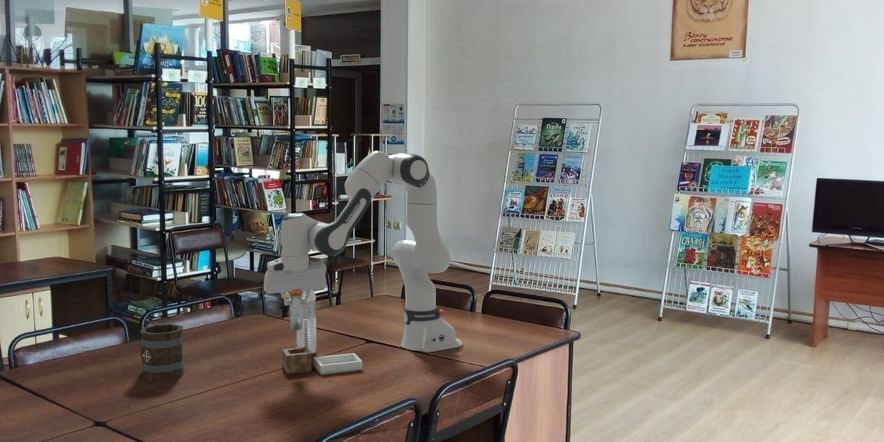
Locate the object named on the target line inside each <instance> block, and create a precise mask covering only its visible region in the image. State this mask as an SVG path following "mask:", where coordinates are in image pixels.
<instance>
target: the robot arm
mask: <svg viewBox="0 0 884 442" xmlns="http://www.w3.org/2000/svg"><path fill="white" fill-rule="evenodd" d="M385 182H387V183H390V184H395V185H400V186H401V185H403V186H404V187H405V189H406V213H405V215H406V222H405V223H406V226H407V227H408V228H409V230H410V231H411V232H412V235H413V237H414V239H411V238H409V239H402V240H399V241H396V242H395V244H394V245H393V247H392V251H391V257H392V260H393V261H394V263H395V264H396V265H397V267H398V269H399V271H400V273H401V276H402V280H403V283H404V285H403V286H404V288H405V289H404V291H405V292H404V294H405V307H404V312H403V320H404V321H403V322H404V331H403V335H402V341H401V344H400V347H401V348H403V349H405V350H409V351H417V352H418V351H419V352H424V353H433V352H437V351H438V352H439V351H444V350H449V349H456V348H461V347H462V346H463V342H462V340H460V339H459V338H457V334H456V330H455V329H454V326H453V325H451V324H450V323H448V322H447V321H446V320H445V319H443V318H442V317H441V316H445V315H446V314H445V313H446V311H445V310H443V309H440V308H438V307H437V305H436V301H437V300H436V298H437V297H436V296H437V293H436V291H437V289H436V286H435V284H434V283H433V281H432V280H431V279H430V277H429V274H438V273H439V274H441V273H445V271H446V270H447V269H448V268H449V266H450V263H451V258H452V256H451V253H450V251H449V249H448V248H447V247H446V246H445V244H444V242H443V241H442V240H443V239H442V238H441V235H440V231H439V227H438V195H437V194H438V193H437V191H438V190H437V185H436V183H437V182H436V180H435V178H434V176H433V175H431V172H430V168H429V165H428V163H427V160H426V159H425V158H424V157H422V156H421V155H418V154H416V153H415V154H414V153H406V152H401V153H390V154H387V153H386V152H383V151H380V150H375V151H372V152H370V153H369V154H368V155H367V156H366V157H364V158H363V159H362V160H361V161H360V162H359V163H358V164H357V165H356V167H354V169H353V170H352V171H351V172H350V173H349V175H348V176H347V178H346V180H345V182H344V191H345V193H346V196H347V197H348V202H347V204H346V205H345V207H344V208H343V210H342V211H341V212H340V214H339V215H338V216H337V218H336V219H335V221H332V222H330V223H326V222H323V221H319V220H316V219H314V218H312V217H309V216H308V215H307V214H306V213H303V212H295V213H290V214H287V215H286V216H284V217H283V218H282V221H281V223H280V224H281V225H280V244H281V252H280V257H278V258H276V259H274V260H271V261H269V262H267V263H266V268H267V270H266V271H265V273H264V276H263V277H264V278H263V279H264V280H263V291H264V292H265V293H266V294H270V295H271V294H280V296H281V297H282V299H283V300H284V306H286V307H287V306H290V298H289V299H287V298H286V296H287V293H288V292H291V291H292V290H298V289H302V291H305V293H306V295H305V297H304V298H302V304H307V299H308V297H309V295H310V290H312V291H317V290H325V289H326V288H327V277H326V274H327V265H326V263H324V262H322V261H310V260H309V256H310V255H309V251H315V252H319V253H321V254H323V255H325V256H327V257H335V256H337V255H340V254H341V253H342V252H343V251H344V250H345V249H346V247H347V244H348V242H349V239H350V236H351V233H352V232H353V230H354V229H355V227H356V226H357V225H358V223H359V222H360V220H361V219H362V217H363V216H364V214H365V213H366V211H367V210H368V208H369V207H370V204H371V203H372V200H373V199H374V197H375V195H376V194H377V193H378V192H379V191H380V190H381V188H382V186H383V185H384V184H385Z"/></svg>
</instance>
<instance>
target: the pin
mask: <svg viewBox="0 0 884 442" xmlns="http://www.w3.org/2000/svg"><path fill="white" fill-rule="evenodd" d="M287 293H288V295H289V300H290V305H289V329H290V330H291V331H297V330H301V329H302V293H303V291H302V289H298V290H292V291H291V292H287Z"/></svg>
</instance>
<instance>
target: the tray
mask: <svg viewBox="0 0 884 442" xmlns="http://www.w3.org/2000/svg"><path fill="white" fill-rule="evenodd" d="M313 367H314V368H315V369H316V370H317V372H318V373H319V374H320V376H325V375H331V374H338V373H341V374H342V373H348V372H349V371H350V372H358V371H357V370H359V371H363V360H362V359H361V358H360V357H359V356H358V355H357V354H356V353H355V352H352V353H351V352H350V353H342V354H333V355H331V354H330V355H324V356H322V355H321V356H316V357H315V356H314V357H313Z"/></svg>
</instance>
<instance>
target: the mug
mask: <svg viewBox="0 0 884 442" xmlns="http://www.w3.org/2000/svg"><path fill="white" fill-rule="evenodd" d="M183 329H184V326H183V325H180V324H175V323H161V324H160V323H159V324H152V325H149V326H144V327H142V328H141V330H140V331H139V333H140V334H139V335H140V340H141V341H140V342H141V350H140V353H141V354H140V355H141V356H140V357H141V364H142V366H141V367H142V375H141V378H142V377H143V378H142V379H144V378H147V379H146V380H148V379H151V380H150V381H152V380H157V381H162V380H161V379H170V380H173V379H176V378H178V377H182V376H184V373H185V365H184V341H183V331H184V330H183Z"/></svg>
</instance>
